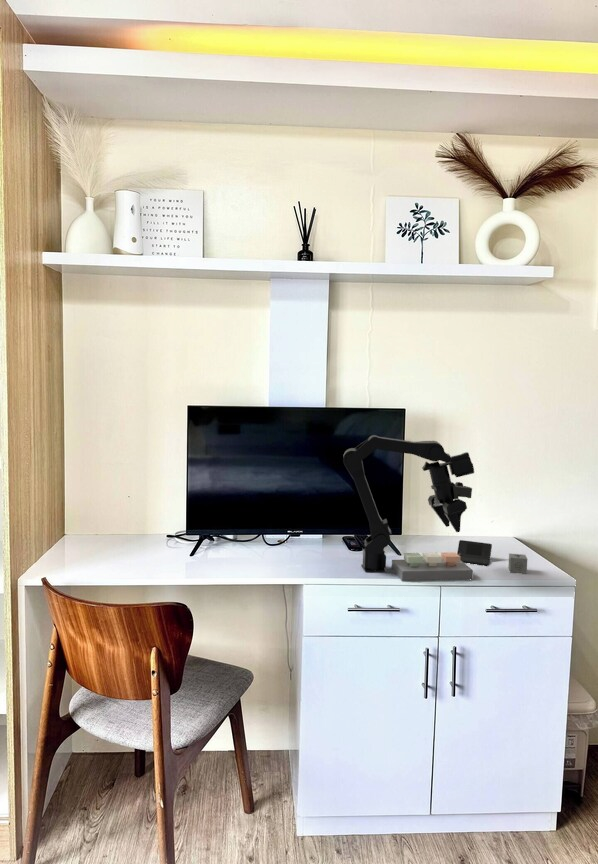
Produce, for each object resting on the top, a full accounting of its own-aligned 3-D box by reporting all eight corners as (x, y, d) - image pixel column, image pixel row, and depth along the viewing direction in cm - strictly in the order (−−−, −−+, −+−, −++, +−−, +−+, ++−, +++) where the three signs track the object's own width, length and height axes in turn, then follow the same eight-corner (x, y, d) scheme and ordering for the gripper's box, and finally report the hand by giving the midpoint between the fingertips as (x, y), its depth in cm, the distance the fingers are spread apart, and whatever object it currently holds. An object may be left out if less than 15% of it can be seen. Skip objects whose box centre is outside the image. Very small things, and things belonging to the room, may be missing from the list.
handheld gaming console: (454, 558, 228) (459, 531, 233) (452, 566, 234) (457, 540, 239) (490, 567, 225) (494, 539, 230) (487, 575, 231) (491, 547, 236)
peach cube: (445, 571, 214) (446, 556, 213) (440, 567, 218) (441, 552, 218) (459, 571, 214) (460, 556, 214) (454, 566, 219) (455, 552, 219)
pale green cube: (407, 572, 212) (408, 557, 212) (403, 567, 217) (403, 553, 216) (422, 571, 213) (422, 557, 212) (417, 567, 217) (418, 552, 217)
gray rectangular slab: (402, 581, 208) (402, 571, 208) (391, 568, 220) (392, 559, 220) (472, 579, 211) (472, 570, 211) (458, 567, 223) (458, 558, 223)
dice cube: (524, 569, 223) (525, 554, 223) (526, 574, 218) (527, 559, 218) (508, 568, 224) (509, 553, 224) (509, 573, 219) (510, 557, 219)
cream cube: (426, 571, 213) (427, 556, 213) (421, 567, 218) (422, 552, 217) (440, 571, 214) (441, 556, 213) (436, 567, 218) (436, 552, 218)
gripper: (477, 477, 206) (489, 527, 208) (454, 470, 225) (465, 516, 226) (442, 487, 205) (454, 537, 207) (422, 480, 224) (433, 526, 225)
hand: (452, 529), depth 216 cm, fingers open, 9 cm apart
